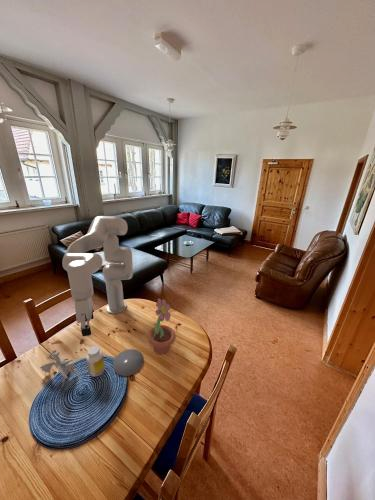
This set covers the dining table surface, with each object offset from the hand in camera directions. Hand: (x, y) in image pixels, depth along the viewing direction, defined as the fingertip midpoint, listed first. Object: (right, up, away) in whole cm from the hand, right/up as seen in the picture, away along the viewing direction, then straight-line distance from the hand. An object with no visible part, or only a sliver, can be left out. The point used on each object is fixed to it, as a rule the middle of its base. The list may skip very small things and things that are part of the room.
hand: (88, 326), depth 85 cm
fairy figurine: (-14, -24, +7) cm, 29 cm away
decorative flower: (+28, -20, +22) cm, 41 cm away
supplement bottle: (-1, -24, +9) cm, 26 cm away
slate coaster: (+13, -22, +14) cm, 29 cm away
